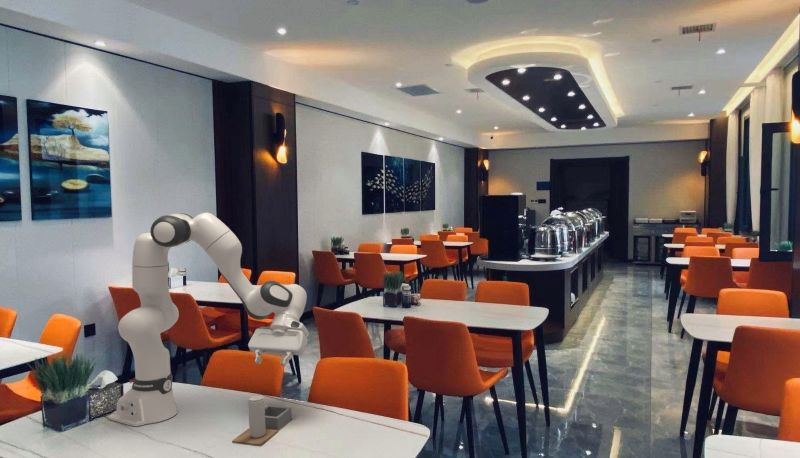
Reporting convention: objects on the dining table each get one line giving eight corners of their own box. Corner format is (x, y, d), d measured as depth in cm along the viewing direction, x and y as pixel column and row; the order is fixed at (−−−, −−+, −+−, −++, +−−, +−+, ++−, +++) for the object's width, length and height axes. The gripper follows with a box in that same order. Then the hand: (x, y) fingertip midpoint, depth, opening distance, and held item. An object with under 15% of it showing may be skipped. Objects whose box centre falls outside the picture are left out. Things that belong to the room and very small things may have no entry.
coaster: (232, 442, 163) (232, 440, 163) (250, 428, 173) (250, 427, 173) (260, 446, 160) (260, 444, 160) (278, 432, 170) (277, 430, 170)
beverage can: (261, 439, 164) (260, 400, 163) (247, 438, 165) (245, 400, 164) (268, 432, 168) (266, 395, 168) (253, 431, 169) (252, 394, 169)
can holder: (253, 427, 174) (253, 415, 173) (268, 416, 182) (267, 405, 182) (278, 430, 171) (277, 418, 171) (291, 419, 180) (291, 407, 179)
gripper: (253, 321, 185) (238, 357, 176) (306, 324, 179) (293, 361, 170) (261, 330, 189) (246, 366, 181) (313, 333, 183) (300, 370, 175)
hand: (270, 364), depth 175 cm, fingers open, 8 cm apart
